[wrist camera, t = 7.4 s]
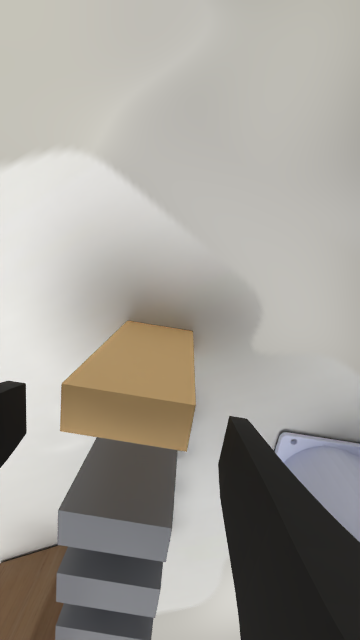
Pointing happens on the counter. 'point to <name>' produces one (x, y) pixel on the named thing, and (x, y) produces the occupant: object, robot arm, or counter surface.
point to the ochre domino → (135, 388)
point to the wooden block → (30, 595)
